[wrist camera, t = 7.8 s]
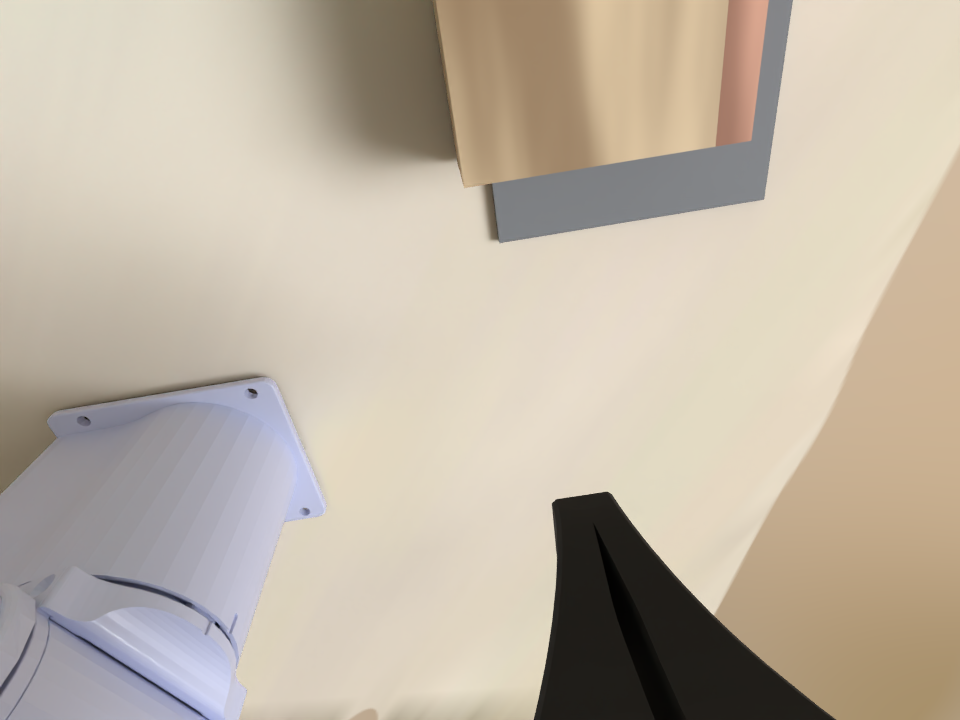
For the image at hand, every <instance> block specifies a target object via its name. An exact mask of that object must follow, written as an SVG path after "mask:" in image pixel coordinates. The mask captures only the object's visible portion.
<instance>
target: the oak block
mask: <svg viewBox="0 0 960 720" xmlns="http://www.w3.org/2000/svg"><path fill="white" fill-rule="evenodd" d="M432 1H433V7H434V14H435V20H436V26H437V33H438V39H439V46H440V52H441V59H442V65H443V72H444V78H445V85H446V91H447V98H448V104H449V110H450V117H451V123H452V130H453V136H454V143H455V149H456V156H457V162H458V166H459V170H460V174H461V177H462V181H463V185H464V188H467V187H473V186H480V185H486V184H492V183H498V182H504V181H510V180H516V179H522V178H528V177H534V176H540V175H546V174H552V173H558V172H565V171H571V170H577V169H583V168H589V167H595V166H601V165H607V164H613V163H619V162H625V161H631V160H637V159H643V158H650V157H656V156H662V155H668V154H674V153H680V152H686V151H692V150H698V149H704V148H710V147H716V146H722V145H728V144H735V143H741V142H747V141H751V139H752V131H753V123H754V115H755V107H756V99H757V91H758V83H759V75H760V67H761V59H762V51H763V43H764V35H765V27H766V19H767V10H768V2H769V0H432Z"/></svg>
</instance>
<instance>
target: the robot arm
mask: <svg viewBox="0 0 960 720" xmlns="http://www.w3.org/2000/svg"><path fill="white" fill-rule="evenodd" d="M248 388H250V389H254V390H256V391H257V394H253V393H251V392H249V391H248ZM83 416H84V417H87V418H88V419H89V420H87V419H85V418H84V417H83ZM47 424H48V426H49V427H50V429H51V430H52V432H53V433H54V434H55V436H56V437H57V439H56V440H55V441H54V442H53V443H52V444H51V445H50V446H48V447H47V448H46V449H45V450H44V451H43V452H42V453H41V454H40V455H39V456H38V457H37V458H36V459H35V460H34V461H33V462H32V463H31V464H30V465H29V466H28V467H27V468H26V469H25V470H24V471H23V472H22V473H21V474H20V475H19V476H18V477H17V478H16V479H15V480H14V481H13V482H12V483H11V484H10V485H9V486H8V487H7V488H6V489H5V490H4V491H3V492H2V493H1V494H0V720H239V717H240V713H241V710H242V706H243V703H244V700H245V696H246V693H247V690H246V688H245V687H244V686H242V685H241V684H240V683H239V681H238V679H237V677H236V669H237V666H238V663H239V660H240V657H241V654H242V651H243V647H244V644H245V641H246V638H247V635H248V632H249V629H250V626H251V623H252V619H253V616H254V613H255V610H256V607H257V604H258V601H259V598H260V595H261V592H262V588H263V585H264V582H265V579H266V576H267V573H268V570H269V567H270V564H271V560H272V557H273V554H274V551H275V548H276V545H277V542H278V539H279V536H280V533H281V529H282V526H283V523H284V522H288V521H294V520H300V519H306V518H312V517H318V516H321V515H323V514H324V513H325V511H326V507H327V505H326V501H325V499H324V496H323V494H322V492H321V489H320V487H319V484H318V482H317V480H316V477H315V475H314V472H313V470H312V468H311V465H310V463H309V460H308V458H307V456H306V453H305V451H304V448H303V446H302V444H301V441H300V439H299V436H298V434H297V432H296V429H295V427H294V424H293V422H292V420H291V417H290V415H289V412H288V410H287V408H286V405H285V403H284V400H283V398H282V396H281V393H280V391H279V388H278V386H277V384H276V383H275V381H273V380H272V379H270V378H267V377H259V378H253V379H247V380H241V381H235V382H229V383H223V384H217V385H211V386H205V387H199V388H193V389H187V390H181V391H175V392H168V393H162V394H156V395H150V396H144V397H138V398H132V399H126V400H120V401H114V402H108V403H102V404H96V405H90V406H84V407H77V408H71V409H65V410H59V411H56V412H54V413H53V414H52V415H51V416H50V417H49V418H48V419H47ZM303 508H307V509H303ZM552 509H553V520H554V530H555V541H556V551H557V577H556V591H555V601H554V610H553V620H552V627H551V634H550V641H549V647H548V653H547V659H546V665H545V670H544V675H543V680H542V685H541V690H540V695H539V700H538V704H537V708H536V713H535V717H534V720H836V719H834V718H833V717H832V716H830V715H829V714H828V713H827V712H825V711H824V710H823V709H821V708H820V707H819V706H817V705H816V704H815V703H814V702H812V701H811V700H810V699H809V698H807V697H806V696H805V695H804V694H803V693H801V692H800V691H799V690H798V689H796V688H795V687H794V686H793V685H792V684H790V683H789V682H788V681H787V680H785V679H784V678H783V677H782V676H780V675H779V674H778V673H777V672H776V671H774V670H773V669H772V668H770V667H769V666H768V665H767V664H766V663H765V662H764V661H762V660H761V659H760V658H759V657H758V656H757V655H756V654H754V653H753V652H752V651H751V650H750V649H749V648H748V647H747V646H746V645H744V644H743V643H742V642H741V641H740V640H739V639H738V638H737V637H736V636H735V635H733V634H732V633H731V632H730V631H729V630H728V629H727V628H726V627H725V626H724V625H723V624H722V623H721V622H720V621H719V620H718V619H717V618H716V617H715V616H714V615H713V614H711V613H710V612H709V611H708V609H707V608H706V607H705V606H704V605H703V604H702V603H701V602H700V601H699V600H698V599H697V598H696V597H695V596H694V595H693V594H692V593H691V592H690V591H689V590H688V589H687V588H686V587H685V586H684V585H683V583H682V582H681V581H680V580H679V579H678V578H677V577H676V576H675V575H674V574H673V572H672V571H671V570H670V569H669V568H668V567H667V566H666V564H665V563H664V562H663V561H662V560H661V559H660V557H659V556H658V555H657V554H656V553H655V552H654V550H653V549H652V548H651V547H650V546H649V544H648V543H647V542H646V541H645V539H644V538H643V537H642V536H641V534H640V533H639V532H638V530H637V529H636V528H635V527H634V525H633V524H632V523H631V521H630V520H629V519H628V517H627V516H626V515H625V513H624V512H623V510H622V509H621V507H620V506H619V505H618V503H617V502H616V500H615V499H614V497H613V495H612V494H610V493H609V492H602V493H595V494H589V495H582V496H576V497H569V498H563V499H556V500H555V501H554V502H553V503H552Z"/></svg>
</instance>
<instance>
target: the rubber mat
mask: <svg viewBox="0 0 960 720" xmlns="http://www.w3.org/2000/svg"><path fill="white" fill-rule="evenodd" d="M792 2H793V0H769V2H768V10H767V19H766V27H765V35H764V43H763V51H762V59H761V67H760V75H759V83H758V91H757V99H756V107H755V115H754V123H753V131H752V139H751V141H747V142H741V143H735V144H728V145H722V146H716V147H710V148H704V149H698V150H692V151H686V152H680V153H674V154H668V155H662V156H656V157H650V158H643V159H637V160H631V161H625V162H619V163H613V164H607V165H601V166H595V167H589V168H583V169H577V170H571V171H565V172H558V173H552V174H546V175H540V176H534V177H528V178H522V179H516V180H510V181H504V182H498V183H492V190H493V198H494V206H495V214H496V222H497V230H498V238H499V242H500V243H503V242H509V241H515V240H521V239H527V238H533V237H539V236H545V235H551V234H557V233H564V232H570V231H576V230H582V229H588V228H594V227H600V226H606V225H612V224H618V223H624V222H630V221H636V220H642V219H649V218H655V217H661V216H667V215H673V214H679V213H685V212H691V211H697V210H703V209H709V208H715V207H721V206H727V205H734V204H740V203H746V202H752V201H758V200H764V196H765V189H766V182H767V175H768V168H769V161H770V154H771V147H772V140H773V133H774V126H775V120H776V113H777V106H778V99H779V92H780V85H781V78H782V71H783V64H784V57H785V50H786V43H787V36H788V30H789V23H790V16H791V9H792Z"/></svg>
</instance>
